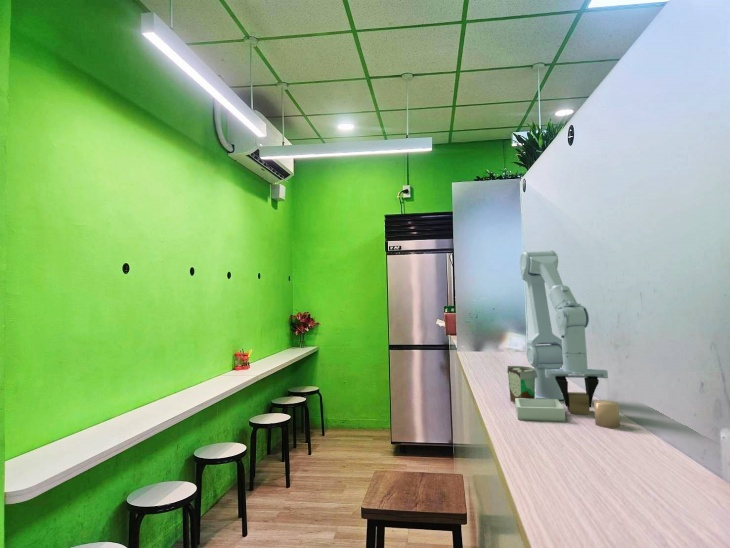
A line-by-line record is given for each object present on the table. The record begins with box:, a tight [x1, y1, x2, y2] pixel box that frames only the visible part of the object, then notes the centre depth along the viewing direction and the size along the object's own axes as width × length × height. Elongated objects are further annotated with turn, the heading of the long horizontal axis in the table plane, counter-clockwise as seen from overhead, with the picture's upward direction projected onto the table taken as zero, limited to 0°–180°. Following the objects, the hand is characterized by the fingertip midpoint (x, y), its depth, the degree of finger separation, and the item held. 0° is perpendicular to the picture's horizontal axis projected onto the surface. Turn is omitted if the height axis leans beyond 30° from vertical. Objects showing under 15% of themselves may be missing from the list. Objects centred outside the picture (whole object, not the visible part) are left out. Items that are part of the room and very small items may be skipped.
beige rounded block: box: [593, 400, 621, 429], centre depth 100 cm, size 5×5×5 cm
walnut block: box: [566, 391, 591, 415], centre depth 112 cm, size 4×4×4 cm
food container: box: [506, 365, 537, 405], centre depth 123 cm, size 12×6×10 cm, turn 179°
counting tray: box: [514, 398, 566, 422], centre depth 110 cm, size 11×11×3 cm
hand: (577, 406), depth 112 cm, fingers closed on walnut block, 4 cm apart
